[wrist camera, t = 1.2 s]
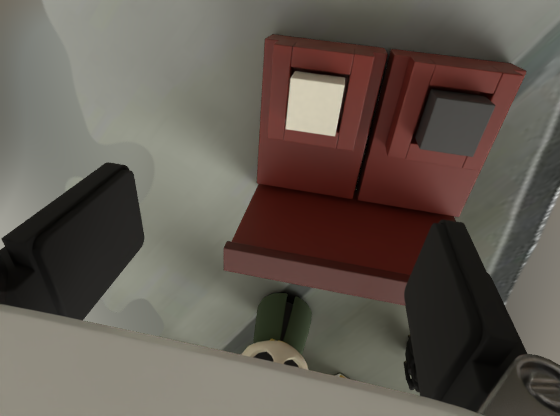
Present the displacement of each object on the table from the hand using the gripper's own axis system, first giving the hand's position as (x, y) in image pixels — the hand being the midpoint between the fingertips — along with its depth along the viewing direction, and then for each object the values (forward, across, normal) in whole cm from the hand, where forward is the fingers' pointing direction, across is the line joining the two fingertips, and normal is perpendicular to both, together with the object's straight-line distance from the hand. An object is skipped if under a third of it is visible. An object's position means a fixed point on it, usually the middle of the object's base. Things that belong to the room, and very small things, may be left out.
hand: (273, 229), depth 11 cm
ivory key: (+14, 0, 0) cm, 14 cm away
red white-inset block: (+18, 0, +2) cm, 18 cm away
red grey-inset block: (+18, -8, +2) cm, 20 cm away
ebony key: (+14, -8, 0) cm, 17 cm away
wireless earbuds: (+18, -16, +27) cm, 36 cm away
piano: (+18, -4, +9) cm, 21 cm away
